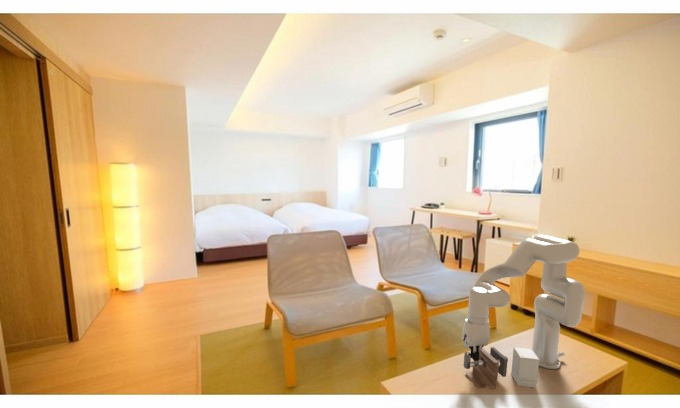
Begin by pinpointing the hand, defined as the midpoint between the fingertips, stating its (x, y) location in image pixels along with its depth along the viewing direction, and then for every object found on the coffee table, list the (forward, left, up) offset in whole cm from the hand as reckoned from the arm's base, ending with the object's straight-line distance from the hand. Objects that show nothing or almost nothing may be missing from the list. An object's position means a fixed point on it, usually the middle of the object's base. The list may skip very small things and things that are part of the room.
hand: (474, 359), depth 122 cm
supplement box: (-21, +4, -10) cm, 24 cm away
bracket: (-3, 0, -10) cm, 11 cm away
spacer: (-12, 0, -7) cm, 14 cm away
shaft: (-6, 0, -3) cm, 6 cm away
